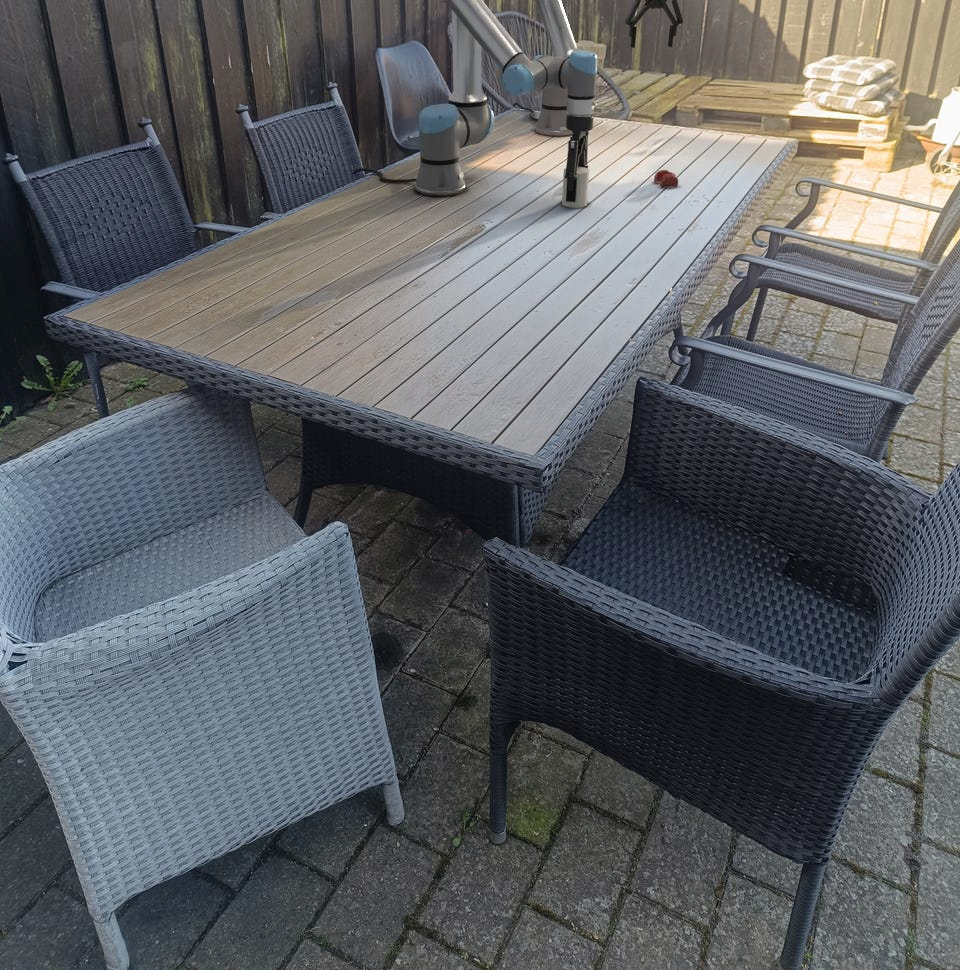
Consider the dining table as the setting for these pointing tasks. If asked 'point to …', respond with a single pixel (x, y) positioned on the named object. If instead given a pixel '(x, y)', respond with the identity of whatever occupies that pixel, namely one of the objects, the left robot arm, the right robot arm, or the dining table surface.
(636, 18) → the right robot arm
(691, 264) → the dining table surface
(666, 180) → the red rounded lump
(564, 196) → the cylinder
